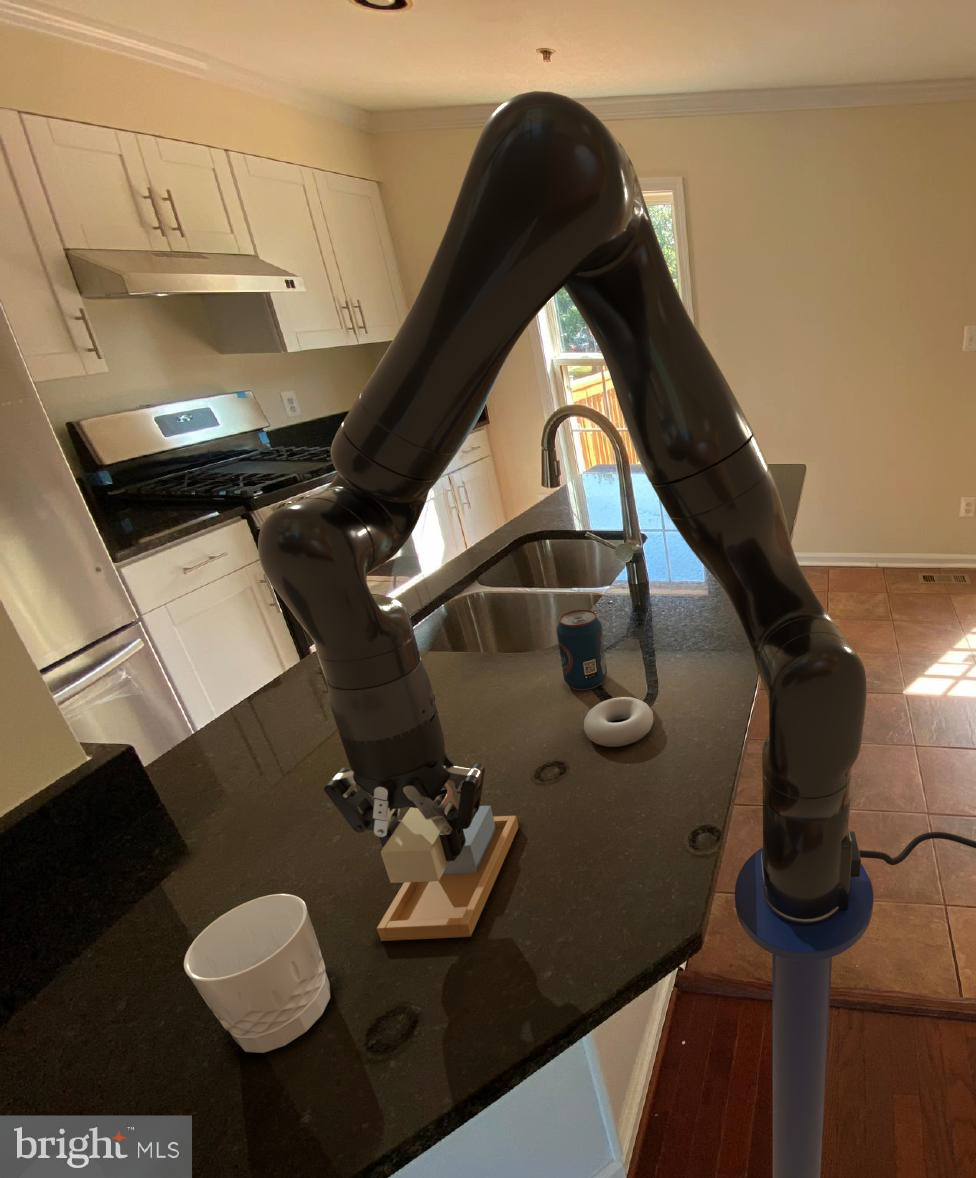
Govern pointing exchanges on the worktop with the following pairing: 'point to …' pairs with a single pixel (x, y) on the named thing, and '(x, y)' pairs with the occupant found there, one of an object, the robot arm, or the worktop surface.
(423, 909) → the frame
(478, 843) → the pad
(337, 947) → the worktop surface
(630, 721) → the donut
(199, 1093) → the worktop surface
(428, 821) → the pad
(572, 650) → the soda can
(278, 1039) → the white cup
